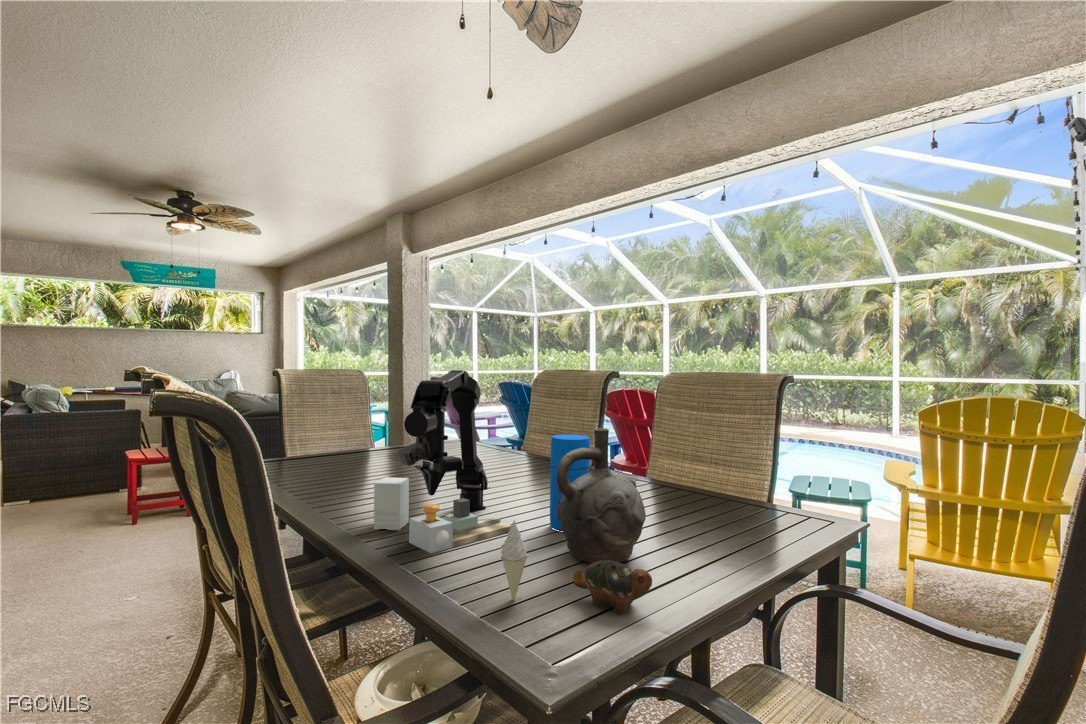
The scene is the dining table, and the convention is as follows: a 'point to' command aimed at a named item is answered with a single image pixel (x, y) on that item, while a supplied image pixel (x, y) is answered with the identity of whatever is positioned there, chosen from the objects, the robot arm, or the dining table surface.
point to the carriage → (462, 515)
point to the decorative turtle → (613, 583)
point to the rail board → (480, 531)
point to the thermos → (576, 470)
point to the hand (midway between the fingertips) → (431, 495)
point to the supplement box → (391, 503)
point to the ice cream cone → (513, 558)
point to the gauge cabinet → (430, 534)
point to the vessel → (599, 507)
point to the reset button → (431, 512)
